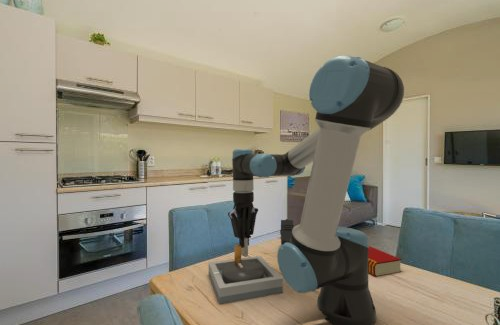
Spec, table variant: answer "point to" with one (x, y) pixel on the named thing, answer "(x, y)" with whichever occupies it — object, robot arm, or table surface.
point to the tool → (286, 230)
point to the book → (382, 263)
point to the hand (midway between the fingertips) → (244, 255)
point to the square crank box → (244, 282)
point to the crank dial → (241, 269)
